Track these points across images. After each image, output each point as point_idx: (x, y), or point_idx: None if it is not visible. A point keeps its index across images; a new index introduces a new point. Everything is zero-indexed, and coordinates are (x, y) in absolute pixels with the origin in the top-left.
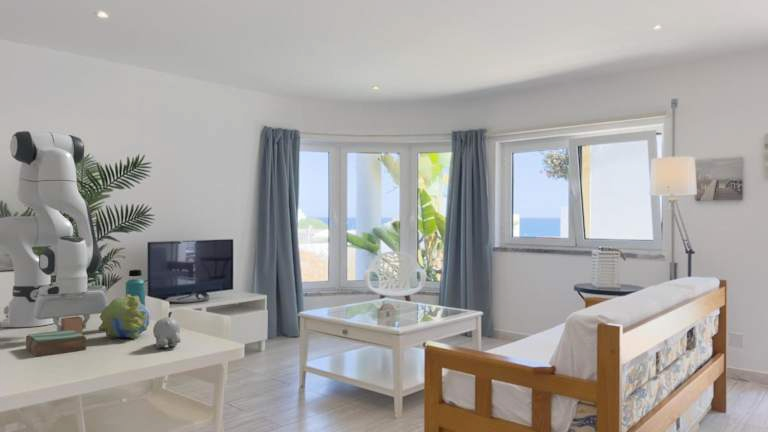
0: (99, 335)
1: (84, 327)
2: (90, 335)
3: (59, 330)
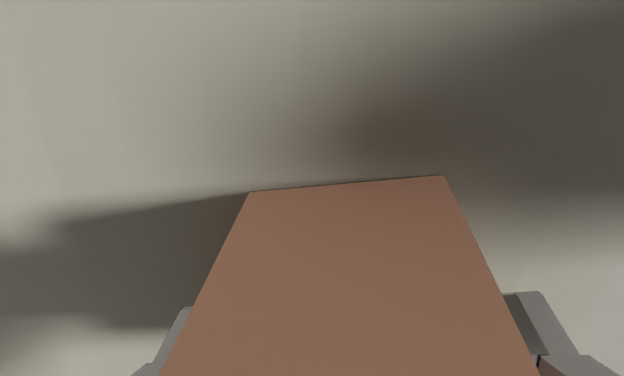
0: (602, 342)
1: None
2: None
3: None
